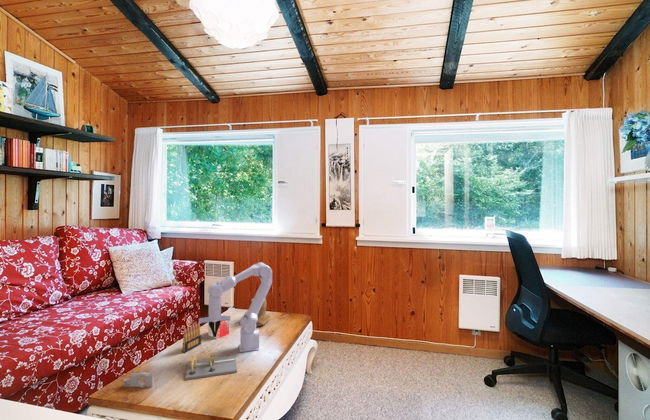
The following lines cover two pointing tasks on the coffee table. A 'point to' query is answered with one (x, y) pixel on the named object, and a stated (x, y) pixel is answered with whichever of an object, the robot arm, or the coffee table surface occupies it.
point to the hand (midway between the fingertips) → (214, 336)
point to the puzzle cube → (220, 329)
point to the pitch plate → (203, 368)
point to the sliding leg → (211, 359)
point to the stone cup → (262, 314)
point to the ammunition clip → (191, 338)
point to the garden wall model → (136, 382)
